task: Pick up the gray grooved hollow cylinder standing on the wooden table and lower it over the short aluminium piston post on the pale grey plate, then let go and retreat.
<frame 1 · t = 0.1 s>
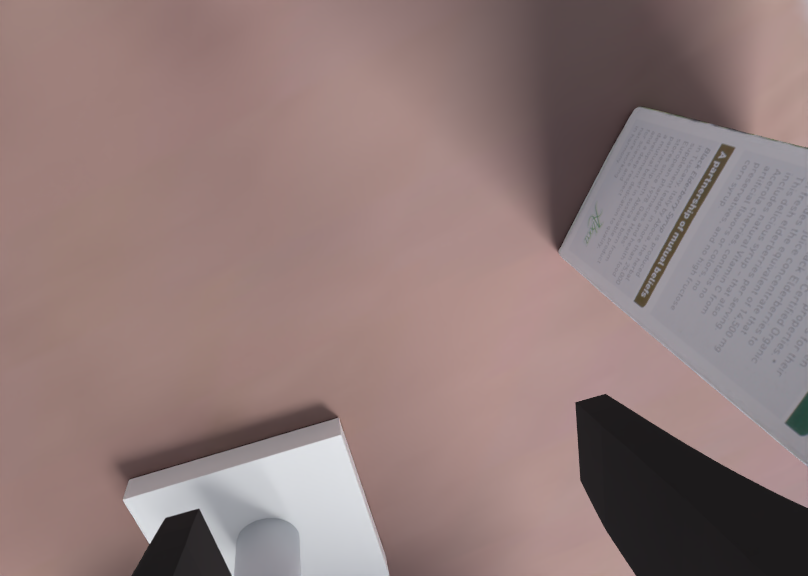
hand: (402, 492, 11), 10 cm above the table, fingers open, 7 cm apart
piston block: (268, 521, 24), on the table
syrup box: (651, 204, 21), on the table
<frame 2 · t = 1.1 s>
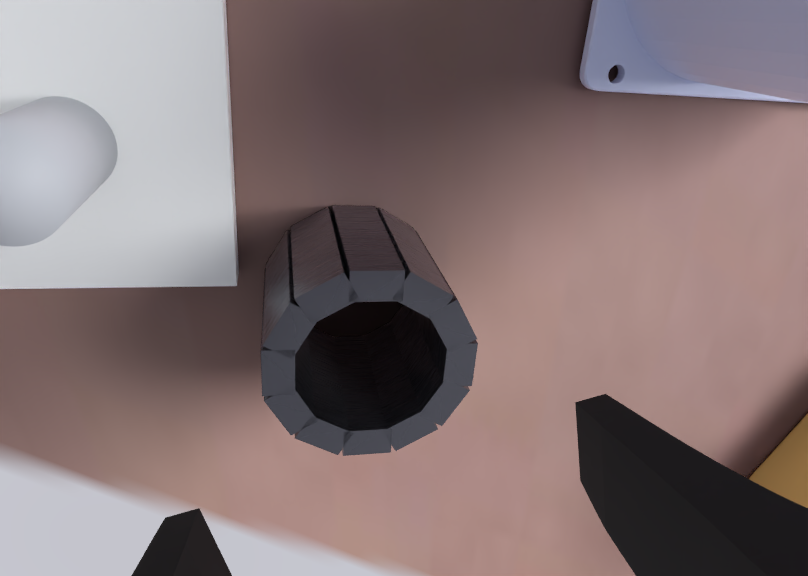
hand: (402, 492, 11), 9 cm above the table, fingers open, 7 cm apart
piston block: (78, 137, 16), on the table
gray grooved hollow cylinder: (350, 285, 19), on the table
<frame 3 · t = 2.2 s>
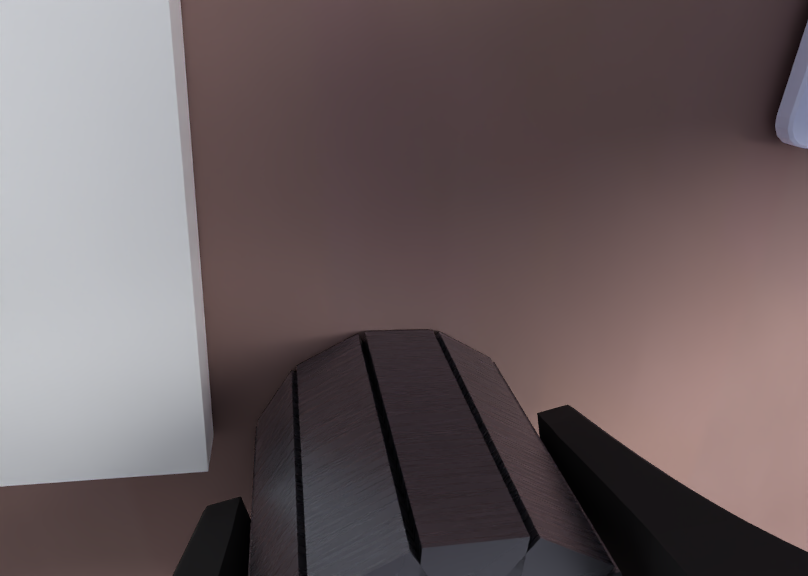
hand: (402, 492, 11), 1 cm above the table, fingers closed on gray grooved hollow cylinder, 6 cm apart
gray grooved hollow cylinder: (390, 443, 12), on the table, touching gripper
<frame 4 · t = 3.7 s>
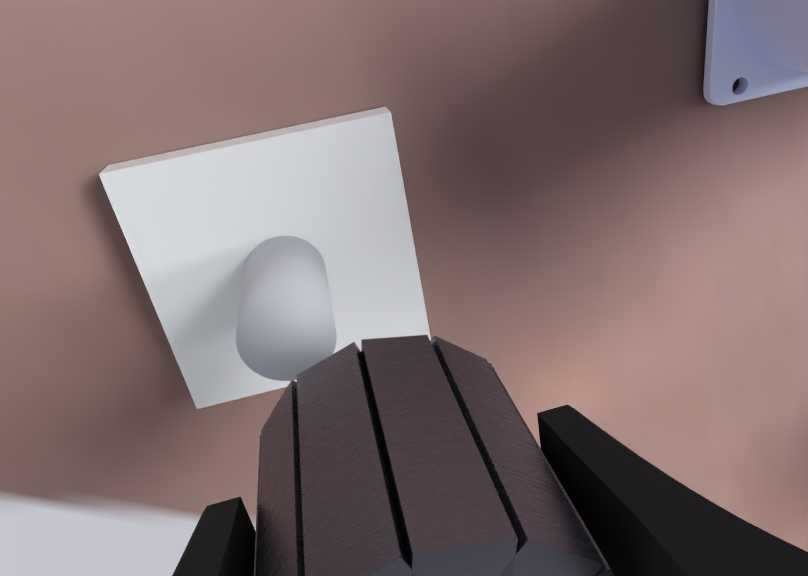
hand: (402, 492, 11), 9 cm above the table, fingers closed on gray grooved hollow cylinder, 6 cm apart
piston block: (285, 260, 19), on the table
gray grooved hollow cylinder: (392, 446, 13), point 8 cm above the table, touching gripper
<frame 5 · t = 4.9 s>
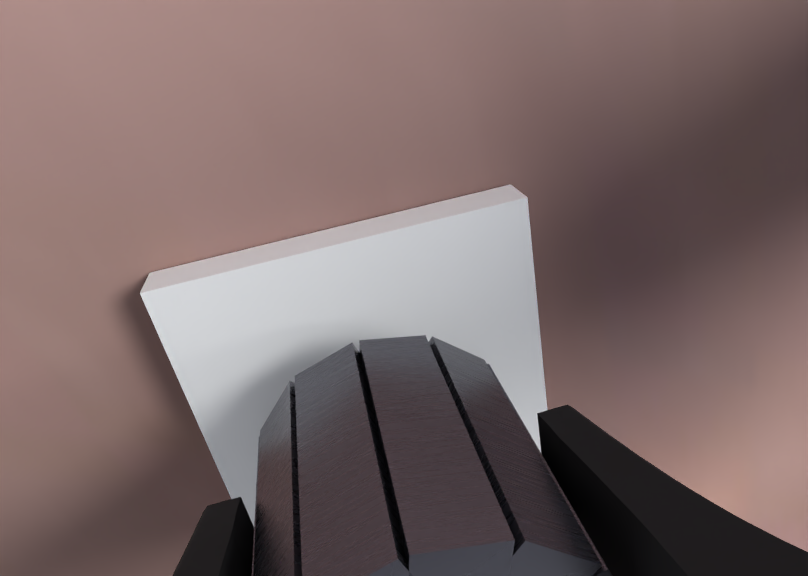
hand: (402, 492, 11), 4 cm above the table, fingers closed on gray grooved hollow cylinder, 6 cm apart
piston block: (373, 375, 15), on the table
gray grooved hollow cylinder: (391, 447, 13), point 2 cm above the table, touching gripper
when the fingers open (4 cm above the table, at t = 5.4 s): gray grooved hollow cylinder drops 1 cm, resting on piston block.
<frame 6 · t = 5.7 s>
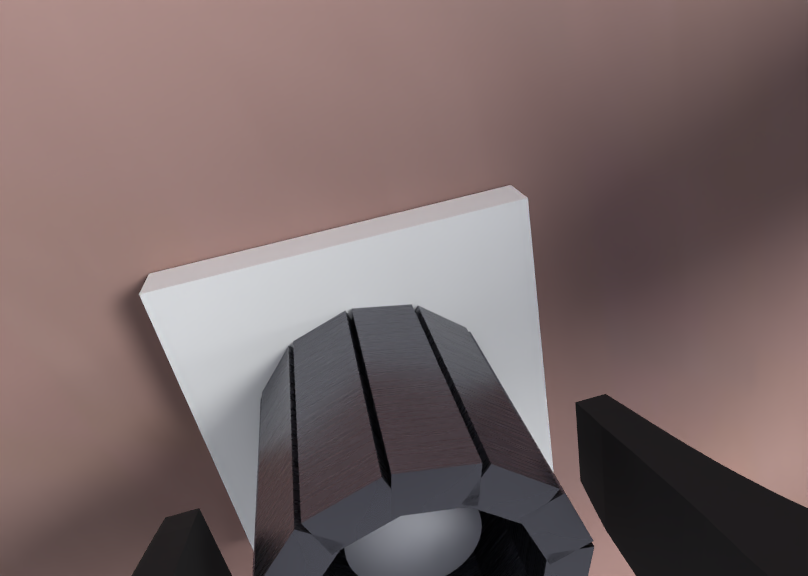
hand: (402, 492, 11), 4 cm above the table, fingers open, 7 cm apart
piston block: (373, 376, 15), on the table
gray grooved hollow cylinder: (381, 409, 14), point 1 cm above the table, touching piston block
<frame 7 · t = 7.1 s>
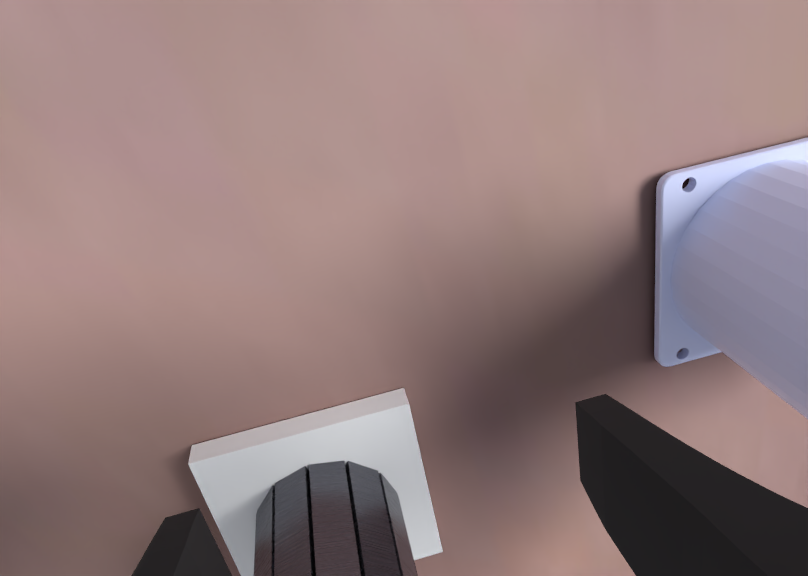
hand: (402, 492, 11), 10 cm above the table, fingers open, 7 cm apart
piston block: (325, 493, 24), on the table
gray grooved hollow cylinder: (329, 516, 23), point 1 cm above the table, touching piston block
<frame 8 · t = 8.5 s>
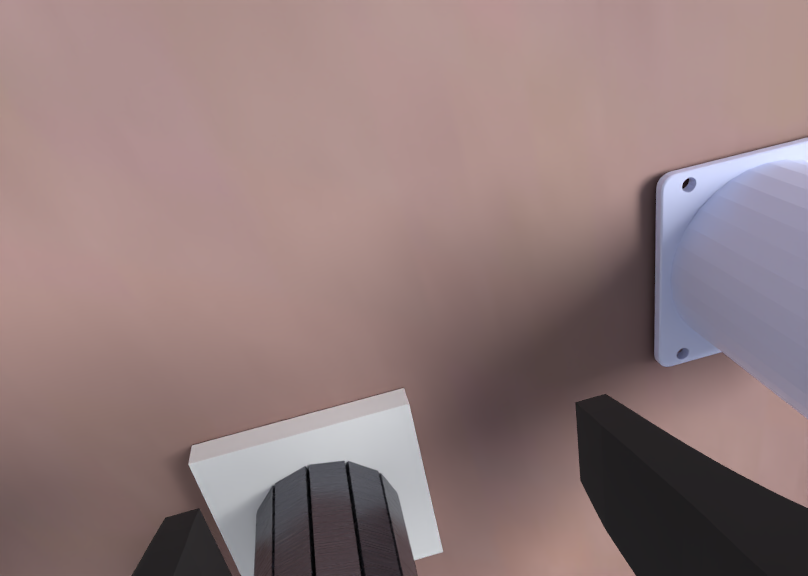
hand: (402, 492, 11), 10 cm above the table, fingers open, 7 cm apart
piston block: (325, 493, 24), on the table
gray grooved hollow cylinder: (329, 516, 23), point 1 cm above the table, touching piston block
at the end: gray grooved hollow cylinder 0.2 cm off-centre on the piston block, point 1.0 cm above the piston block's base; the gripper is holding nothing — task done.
